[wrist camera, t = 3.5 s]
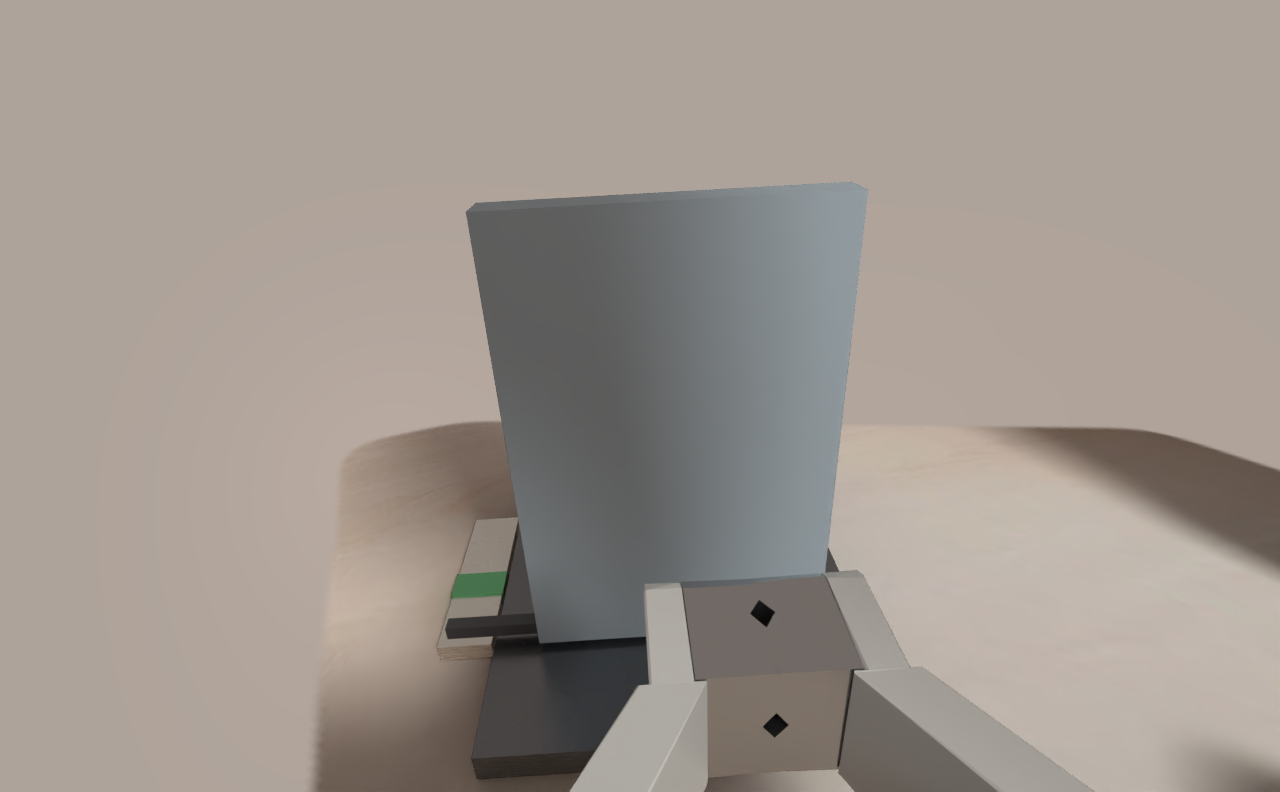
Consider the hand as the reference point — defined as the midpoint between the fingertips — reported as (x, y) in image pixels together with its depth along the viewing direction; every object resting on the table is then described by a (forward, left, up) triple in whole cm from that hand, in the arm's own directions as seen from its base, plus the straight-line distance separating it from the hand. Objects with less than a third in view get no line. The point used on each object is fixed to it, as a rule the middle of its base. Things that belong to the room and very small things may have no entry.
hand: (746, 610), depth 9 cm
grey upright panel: (+2, -13, -14) cm, 20 cm away
